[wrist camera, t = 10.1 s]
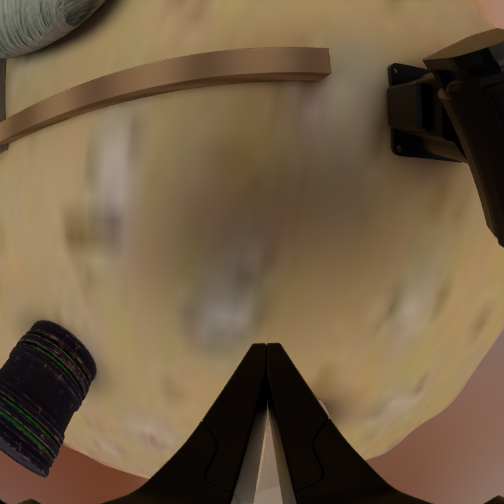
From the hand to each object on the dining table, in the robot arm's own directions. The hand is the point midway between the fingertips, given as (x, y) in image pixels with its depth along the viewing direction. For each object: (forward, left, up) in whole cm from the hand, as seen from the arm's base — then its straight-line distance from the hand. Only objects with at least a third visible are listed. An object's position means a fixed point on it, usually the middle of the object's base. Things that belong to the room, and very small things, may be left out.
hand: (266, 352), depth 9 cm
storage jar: (+24, +14, -12) cm, 30 cm away
